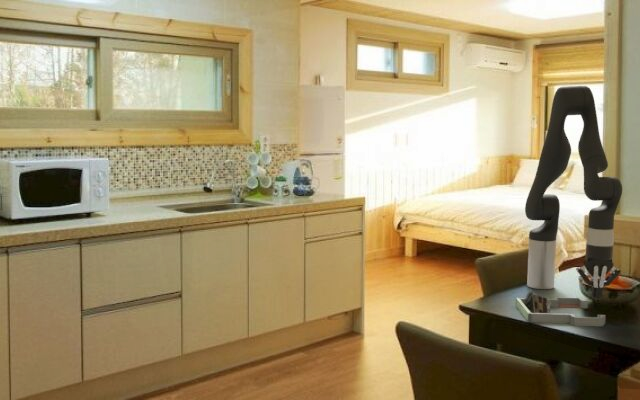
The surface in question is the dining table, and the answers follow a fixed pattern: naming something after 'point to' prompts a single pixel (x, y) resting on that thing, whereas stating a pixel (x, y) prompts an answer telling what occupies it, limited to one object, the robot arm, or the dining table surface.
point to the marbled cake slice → (537, 303)
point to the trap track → (561, 318)
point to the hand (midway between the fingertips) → (596, 298)
